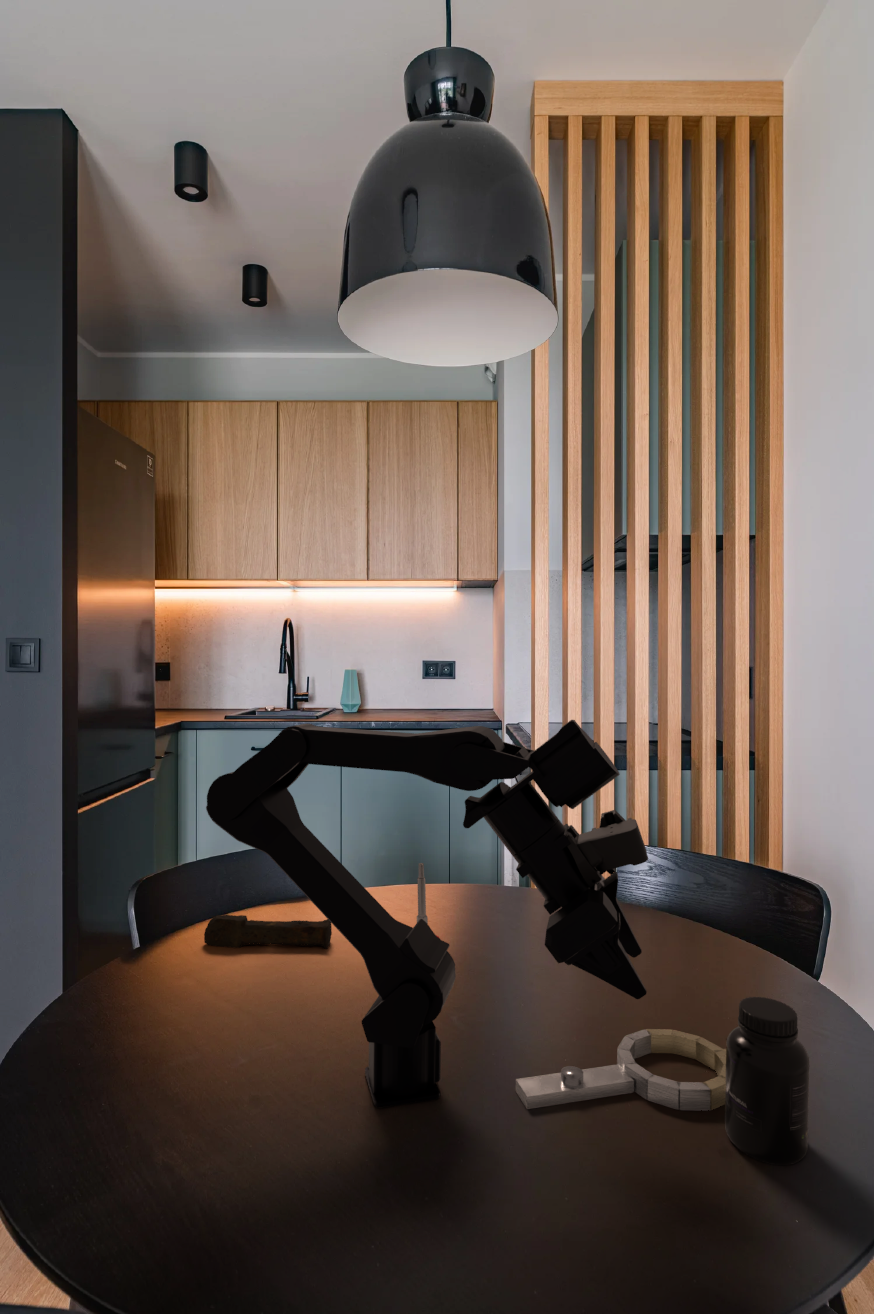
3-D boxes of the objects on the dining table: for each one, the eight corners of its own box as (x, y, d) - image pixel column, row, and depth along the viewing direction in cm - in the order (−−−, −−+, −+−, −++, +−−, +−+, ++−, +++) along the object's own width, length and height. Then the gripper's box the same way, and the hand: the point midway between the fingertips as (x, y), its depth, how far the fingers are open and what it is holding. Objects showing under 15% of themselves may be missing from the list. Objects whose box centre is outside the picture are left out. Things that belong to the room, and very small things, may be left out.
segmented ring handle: (545, 1138, 65) (545, 1116, 65) (500, 1067, 76) (500, 1048, 76) (713, 1110, 69) (713, 1089, 69) (647, 1047, 80) (647, 1029, 80)
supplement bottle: (712, 1142, 64) (713, 1008, 65) (740, 1108, 69) (741, 984, 70) (794, 1181, 60) (795, 1035, 60) (818, 1141, 65) (819, 1007, 65)
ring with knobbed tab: (708, 1111, 69) (708, 1090, 69) (643, 1047, 80) (643, 1029, 80) (821, 1092, 72) (821, 1072, 72) (743, 1033, 84) (743, 1016, 84)
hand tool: (333, 942, 110) (333, 911, 110) (328, 952, 106) (329, 920, 106) (210, 940, 111) (211, 909, 111) (201, 950, 107) (202, 918, 107)
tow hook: (362, 947, 109) (407, 961, 103) (361, 861, 110) (405, 870, 104) (400, 932, 115) (444, 944, 109) (399, 851, 116) (443, 859, 110)
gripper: (601, 806, 59) (728, 967, 57) (602, 773, 77) (699, 894, 75) (496, 883, 61) (614, 1042, 59) (521, 834, 79) (612, 953, 77)
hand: (640, 974), depth 67 cm, fingers open, 9 cm apart
